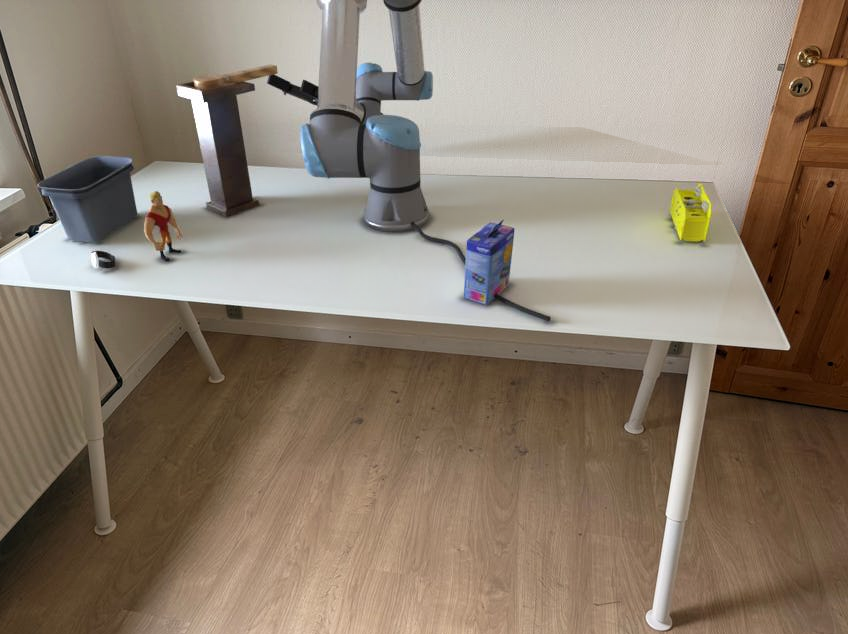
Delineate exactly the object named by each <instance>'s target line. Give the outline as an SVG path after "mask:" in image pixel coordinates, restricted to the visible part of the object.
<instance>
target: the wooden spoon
mask: <svg viewBox="0 0 848 634" xmlns="http://www.w3.org/2000/svg"><path fill="white" fill-rule="evenodd" d="M269 75H278V66H277V65H275V64H268V65H267V64H266V65H261V66H257V67H254V68H249V69H244V70H240V71H235V72H230V73H226V74H221V75H220V74H204V75H200V76H195V77H193V79H192V81H194V86H195V88H197V89H201V90H204V89H208V88H213V87H217V86H221V85H226V84H230V83H239V82H243V81H244V82H249V81H251V80H255V79H256V80H257V79H261V78H265V77H269Z"/></svg>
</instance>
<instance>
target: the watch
mask: <svg viewBox="0 0 848 634" xmlns="http://www.w3.org/2000/svg"><path fill="white" fill-rule="evenodd" d="M90 254H91V255H90V262H91V265H92V267H93V268H95V269H97V268H102V269H104V270H105V269H108V270H110V269H113V268H115V267H116V257H115V255H114V254H112V253H110V252H107V251H104V250H92V251H91V253H90ZM101 259H104V260H101ZM105 260H108V261H105Z"/></svg>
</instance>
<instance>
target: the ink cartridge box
mask: <svg viewBox="0 0 848 634" xmlns="http://www.w3.org/2000/svg"><path fill="white" fill-rule="evenodd" d="M503 222H504V219H502V220H501V221H499V222H498V223H497V222H496V223H495V222H489V223H487V224H486V225H485V226H483V227H482V228H481V229H480V230H479V231H477V232H476V233H474V234H473V235H472V236H471V237H469V238H468V239H467V240H466V249H465V258H466V264H464V284H463V299H467V300H470V301H473V302H476V303H479V304H481V305H484V306H488V305H489V304H490V303H492V301H493V300H495V299H496V298H495V297H494V296H495V294H496V293H497V294H498V295H500V294H501V293H502V292H503V291H504V290H506V289H507V288H508V287H509V285H510V275H511V269H512V257H513V247H514V239H515V231H516V228H515V227H513V226H508V225H505V224H502V223H503Z"/></svg>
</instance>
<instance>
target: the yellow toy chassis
mask: <svg viewBox="0 0 848 634" xmlns="http://www.w3.org/2000/svg"><path fill="white" fill-rule="evenodd" d="M712 205H713V204H712V202H711V200H710V198H709V196H708V194H707V192H706V190H705V187H704V186H703V184H702V182H700V183H699V184H698V185H697V186H696V188H695V191H694V190H693V189H679V188H678V187H676V188H675V189H674V190H673V194H672V199H671V201H670V209H669V213H670V216H671V218H672V219H671V220H672V225H674V230H676V233H677V235H678V238H679V240H680V241H682V240H683V241H684V242H697V243H698V242H701V241H703V242H706V239H707V237H708V232H709V228H710V223H711V219H712V214H713V213H712V212H713V211H712V207H713V206H712Z"/></svg>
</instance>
